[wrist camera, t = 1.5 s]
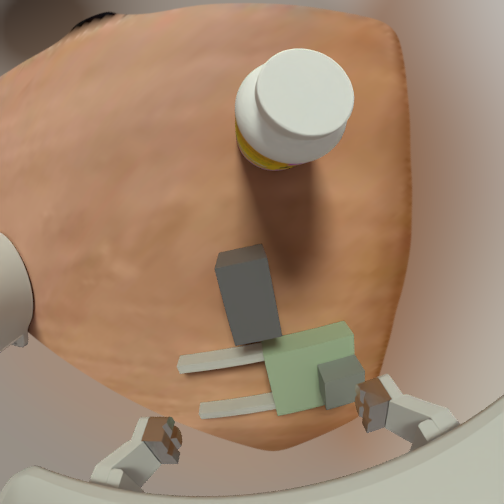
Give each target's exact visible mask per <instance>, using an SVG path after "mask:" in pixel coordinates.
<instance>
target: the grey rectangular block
mask: <svg viewBox="0 0 504 504" xmlns="http://www.w3.org/2000/svg"><path fill="white" fill-rule="evenodd" d="M215 272H216V276H217V280H218V284H219V288H220V291H221V295H222V299H223V303H224V306H225V310H226V314H227V317H228V321H229V325H230V328H231V332H232V335H233V339H234V342H235V346H237V345H242V344H248V343H253V342H258V341H263V340H268V339H273V338H277V337H282V333H281V327H280V322H279V317H278V312H277V306H276V301H275V296H274V291H273V286H272V281H271V276H270V271H269V265H268V260H267V256H266V254H265V251H264V248H263V246H262V244H258V245H253V246H249V247H244V248H239V249H234V250H230V251H225V252H220V253H219V255H218V258H217V262H216V265H215Z"/></svg>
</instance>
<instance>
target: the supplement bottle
mask: <svg viewBox="0 0 504 504" xmlns="http://www.w3.org/2000/svg"><path fill="white" fill-rule="evenodd" d="M353 105H354V92H353V88H352V84H351V82H350V80H349V78H348V76H347V74H346V73H345V71H344V70H343V69H342V68H341V67H340V66H339V65H338V64H337V63H336V62H335V61H334V60H332V59H331V58H329V57H328V56H326V55H324V54H322V53H319V52H317V51H313V50H309V49H290V50H285V51H282V52H280V53H278V54H276V55H274V56H272V57H271V58H270V59H269V60H268V61H267V62H266V63H265V64H263V65H261V66H259V67H257V68H256V69H255V70H253V71H252V72H251V73H250V74H249V75H248V76H247V77H246V78H245V79H244V81H243V82H242V84H241V86H240V88H239V90H238V92H237V96H236V101H235V128H236V140H237V144H238V147H239V149H240V151H241V153H242V154H243V155H244V157H245V158H246V159H247V160H248V161H249V162H251V163H252V164H254V165H255V166H257V167H259V168H262V169H265V170H271V171H279V170H285V169H289V168H292V167H295V166H298V165H301V164H304V163H307V162H310V161H313V160H316V159H318V158H320V157H322V156H324V155H325V154H327V153H328V152H330V151H331V150H332V149H333V148H334V147H335V146H336V145H337V144H338V142H339V141H340V139H341V138H342V135H343V133H344V131H345V127H346V123H347V120H348V118H349V117H350V115H351V112H352V110H353Z"/></svg>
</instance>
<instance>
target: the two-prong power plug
mask: <svg viewBox="0 0 504 504" xmlns="http://www.w3.org/2000/svg"><path fill="white" fill-rule="evenodd" d="M260 361H265V365H266V369H267V373H268V377H269V381H270V386H271V390H272V392H271V393H265V394H260V395H254V396H248V397H242V398H235V399H228V400H220V401H212V402H203V403H200V409H199V415H200V417H201V419H208V418H218V417H227V416H234V415H242V414H248V413H255V412H261V411H267V410H272V409H276V410H277V414H278V416H280V415H285V414H289V413H294V412H298V411H303V410H307V409H311V408H315V407H319V406H323V405H325V407H326V410H328V409H332V408H335V407H339V406H342V405H346V404H349V403H352V402H355V397H356V395H357V394H356V392H355V386H356V384H359V383H362V382H364V381H365V370H364V369H363V367H362V366H361V364H360V362H359V361H358V359H357V358H356V356H355V354H354V334H353V333H352V331H351V330H350V328H349V327H348V326H347V324H346V323H345V321H341V322H337V323H334V324H330V325H326V326H322V327H318V328H314V329H310V330H306V331H302V332H297V333H293V334H289V335H284V336H282V337H277V338H273V339H268V340H263V341H261V343H256V344H250V345H245V346H240V347H234V348H228V349H222V350H216V351H210V352H203V353H196V354H189V355H181V356H180V358H179V361H178V364H177V368H178V370H179V372H180V374H181V373H190V372H198V371H205V370H213V369H219V368H226V367H232V366H238V365H244V364H250V363H255V362H260Z"/></svg>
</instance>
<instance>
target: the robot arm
mask: <svg viewBox="0 0 504 504" xmlns="http://www.w3.org/2000/svg"><path fill="white" fill-rule="evenodd" d="M32 314H33V297H32V290H31V285H30V281H29V278H28V275H27V272H26V269H25V266H24V264H23V262H22V260H21V258H20V256H19V254H18V252H17V250H16V249H15V247H14V246H13V244H12V243H11V242H10V241H9V239H8V238H7V237H6V236H4V235H3V234H2V233H0V353H1V352H2V351H3V350H4V349H6V348H7V347H8V346H10V345H15V346H18V347H24V346H26V345H27V344H28V326H29V324H30V322H31V319H32ZM355 392H356V394H357V395H356V397H355V406H356V410H357V413H358V415H359V416H360V417H362V418H363V419H362V423H363V426H364V428H365V430H366V432H367V433H369V432H372V431H375V430H378V429H381V428H384V427H385V428H386V429H388V430H390V431H391V432H393V433H395V434H397V435H398V436H400V437H402V438H403V439H405V440H407V441H409V442H411V443H412V446H411V449H410V451H409V452H408V453H406V454H404V455H401V456H399V457H396V458H394V459H392V460H389V461H387V462H384V463H382V464H379V465H376V466H374V467H371V468H368V469H365V470H362V471H359V472H356V473H353V474H350V475H346V476H343V477H339V478H336V479H332V480H329V481H325V482H320V483H316V484H312V485H307V486H302V487H298V488H292V489H286V490H281V491H273V492H266V493H257V494H248V495H235V496H207V497H206V496H174V495H161V494H151V493H145V492H144V491H143V490H142V489H141V487H142V485H143V484H144V483H145V482H146V481H147V480H148V479H149V478H150V477H151V476H152V474H153V473H154V472H155V471H156V470H157V469H158V468H159V467H160V466H161V464H178V460H179V455H180V452H179V451H178V449H179V448H180V447H181V445H182V435H181V432H180V430H179V428H178V427H176V426H174V423H175V421H174V420H173V418H172V417H141V418H140V419H139V420H138V423H137V425H136V428H135V431H134V433H133V436H132V439H131V441H127V442H126V443H125V444H123V445H122V446H121V447H120V448H118V449H117V450H115V451H114V452H113V453H111V454H110V455H109V456H107V457H106V458H105V459H103V460H102V461H101V462H99V463H98V464H97V465H96V466H95V469H94V471H93V474H92V476H91V479H90V481H89V482H86V481H82V480H79V479H75V478H71V477H68V476H65V475H62V474H59V473H56V472H53V471H50V470H47V469H45V468H42V467H39V466H31V467H29V468H26V469H24V470H22V471H21V472H19V473H17V474H15V475H13V476H12V477H11V478H10V479H9V481H8V482H7V483H6V485H5V486H4V488H3V490H2V491H1V492H0V504H504V395H502V396H501V397H500V398H499V399H497V400H496V401H495V402H493V403H492V404H490V405H489V406H488V407H486V408H485V409H484V410H482V411H481V412H479V413H478V414H476V415H475V416H473V417H472V418H470V419H469V420H467V421H466V422H464V423H462V424H461V425H460V423H459V422H458V421H457V419H456V418H455V417H454V416H453V414H452V413H451V412H450V410H449V409H448V408H445V407H443V406H439V405H437V404H434V403H431V402H428V401H425V400H422V399H419V398H416V397H413V396H410V395H408V394H405V395H403V394H402V392H401V391H400V390H399V388H398V387H397V385H396V384H395V382H394V381H393V380H392V379H391V377H390V375H389V374H385V375H382V376H379V377H377V378H373V379H370V380H368V381H365V382H362V383H359V384H356V386H355Z"/></svg>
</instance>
